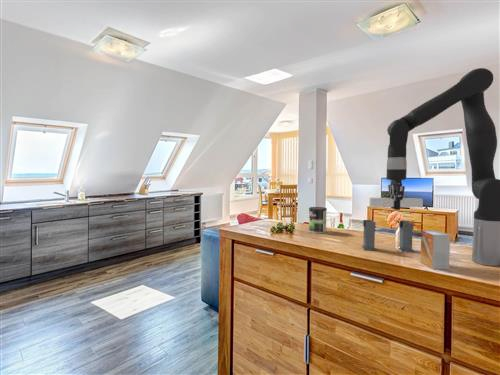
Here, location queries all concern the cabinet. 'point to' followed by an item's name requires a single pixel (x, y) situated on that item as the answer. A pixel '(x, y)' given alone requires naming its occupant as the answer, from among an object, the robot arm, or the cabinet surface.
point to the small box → (435, 249)
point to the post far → (369, 235)
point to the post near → (406, 236)
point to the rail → (390, 202)
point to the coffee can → (317, 219)
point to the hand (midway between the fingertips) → (395, 208)
